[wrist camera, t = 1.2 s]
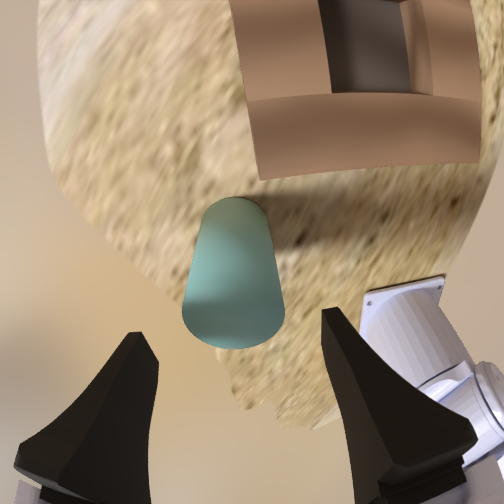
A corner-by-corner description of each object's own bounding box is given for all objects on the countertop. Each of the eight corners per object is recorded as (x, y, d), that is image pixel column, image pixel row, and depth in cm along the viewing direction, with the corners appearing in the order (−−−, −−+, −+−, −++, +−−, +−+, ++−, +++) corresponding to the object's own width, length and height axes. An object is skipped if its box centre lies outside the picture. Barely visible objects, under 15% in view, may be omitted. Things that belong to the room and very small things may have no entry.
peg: (272, 252, 20) (288, 342, 14) (209, 261, 21) (197, 353, 14) (264, 192, 18) (280, 267, 11) (193, 203, 18) (168, 282, 12)
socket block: (452, 149, 17) (478, 163, 14) (256, 164, 17) (259, 180, 15) (433, -33, 9) (457, -41, 7) (219, -49, 10) (216, -70, 7)
